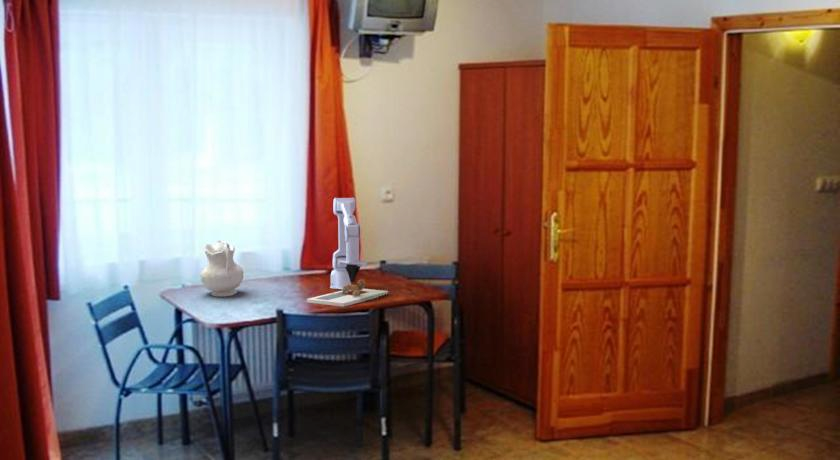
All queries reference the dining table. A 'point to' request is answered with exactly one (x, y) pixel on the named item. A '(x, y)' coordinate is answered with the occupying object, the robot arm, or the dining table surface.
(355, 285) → the lion figurine
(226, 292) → the ceramic pitcher
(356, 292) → the shutter
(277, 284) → the dining table surface
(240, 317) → the dining table surface
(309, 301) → the puzzle board
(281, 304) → the dining table surface
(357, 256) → the robot arm
